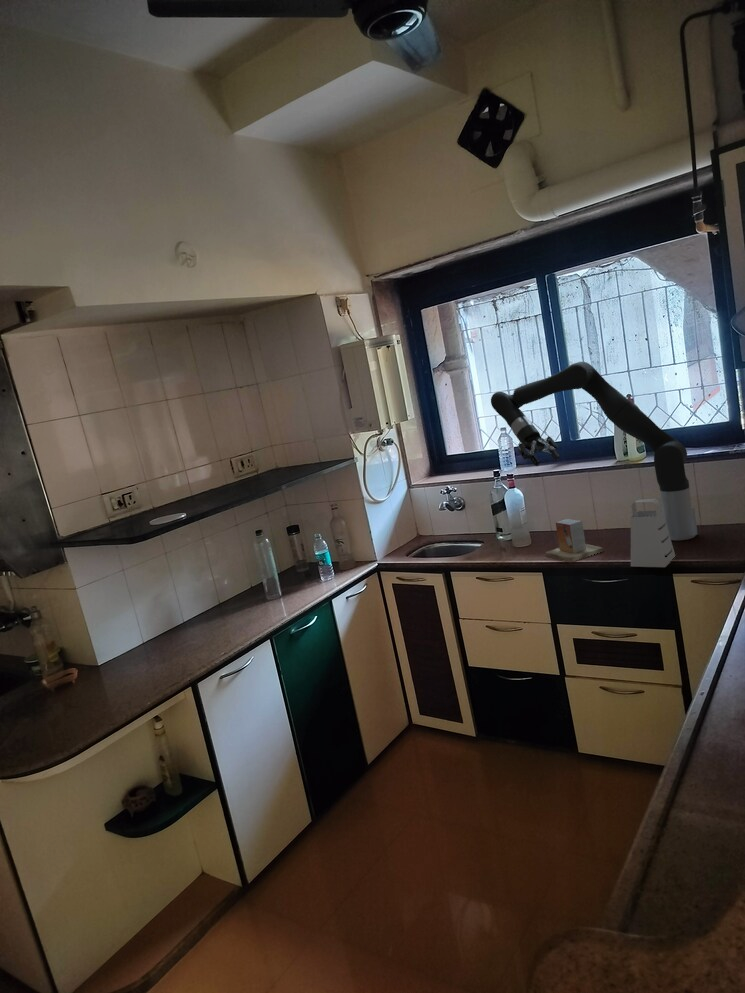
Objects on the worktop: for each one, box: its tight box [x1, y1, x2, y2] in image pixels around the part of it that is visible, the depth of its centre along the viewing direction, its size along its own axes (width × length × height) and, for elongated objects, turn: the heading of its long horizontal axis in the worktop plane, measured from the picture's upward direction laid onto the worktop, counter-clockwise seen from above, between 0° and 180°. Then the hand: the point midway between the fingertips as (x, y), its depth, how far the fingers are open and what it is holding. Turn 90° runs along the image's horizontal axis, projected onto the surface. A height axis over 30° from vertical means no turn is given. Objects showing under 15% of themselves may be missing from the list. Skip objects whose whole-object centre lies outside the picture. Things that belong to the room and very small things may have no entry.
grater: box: [630, 498, 676, 568], centre depth 209 cm, size 10×10×20 cm
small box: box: [555, 518, 586, 553], centre depth 234 cm, size 8×6×10 cm
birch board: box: [545, 543, 604, 563], centre depth 235 cm, size 14×14×2 cm
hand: (548, 462), depth 240 cm, fingers open, 8 cm apart
